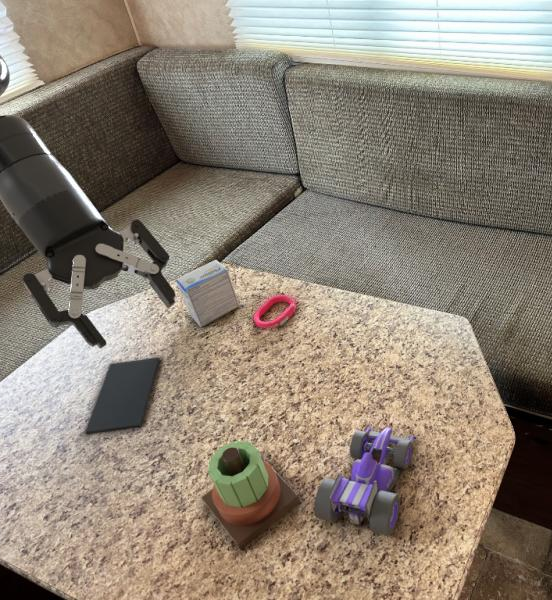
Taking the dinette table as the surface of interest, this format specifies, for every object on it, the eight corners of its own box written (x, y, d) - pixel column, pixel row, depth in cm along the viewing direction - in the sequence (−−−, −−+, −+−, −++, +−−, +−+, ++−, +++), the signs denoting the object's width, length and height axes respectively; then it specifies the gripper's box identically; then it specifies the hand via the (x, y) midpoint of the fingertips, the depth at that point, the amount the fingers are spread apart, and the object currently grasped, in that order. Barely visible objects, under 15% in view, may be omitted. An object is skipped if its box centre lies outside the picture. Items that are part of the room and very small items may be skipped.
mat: (140, 427, 89) (139, 424, 89) (86, 434, 89) (84, 431, 89) (160, 359, 100) (159, 357, 100) (111, 366, 100) (110, 363, 100)
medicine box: (229, 296, 112) (215, 258, 106) (241, 307, 109) (228, 268, 103) (190, 316, 108) (174, 278, 102) (201, 328, 105) (185, 290, 100)
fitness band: (274, 333, 103) (273, 327, 102) (248, 324, 105) (246, 318, 104) (302, 304, 108) (301, 298, 107) (276, 296, 110) (274, 290, 109)
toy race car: (424, 442, 83) (421, 412, 79) (390, 543, 72) (384, 514, 68) (359, 429, 85) (352, 399, 81) (317, 525, 75) (307, 495, 71)
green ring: (236, 517, 72) (224, 494, 69) (211, 485, 76) (199, 461, 73) (278, 485, 75) (268, 461, 72) (251, 456, 79) (241, 432, 76)
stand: (240, 550, 73) (215, 503, 66) (204, 503, 79) (178, 455, 72) (300, 502, 77) (283, 453, 71) (262, 461, 83) (243, 411, 76)
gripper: (-21, 223, 61) (79, 354, 62) (111, 165, 68) (198, 283, 69) (-12, 248, 67) (78, 366, 68) (108, 192, 74) (187, 300, 75)
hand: (138, 324), depth 68 cm, fingers open, 8 cm apart
